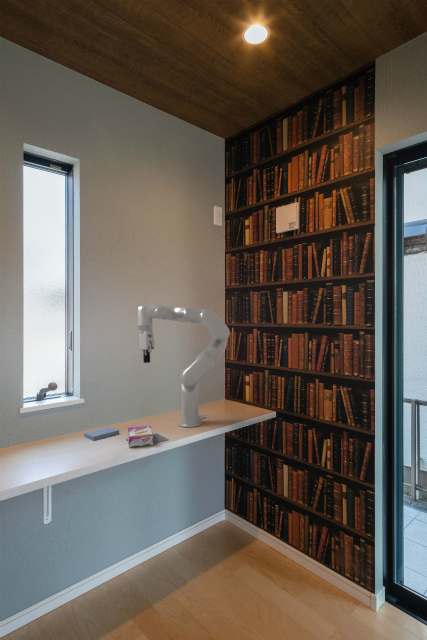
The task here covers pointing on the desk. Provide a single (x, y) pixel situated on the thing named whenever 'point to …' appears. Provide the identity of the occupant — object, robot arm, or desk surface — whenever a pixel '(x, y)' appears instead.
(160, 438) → the mat
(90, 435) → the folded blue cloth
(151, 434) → the candy bar box
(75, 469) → the desk surface
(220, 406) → the desk surface
